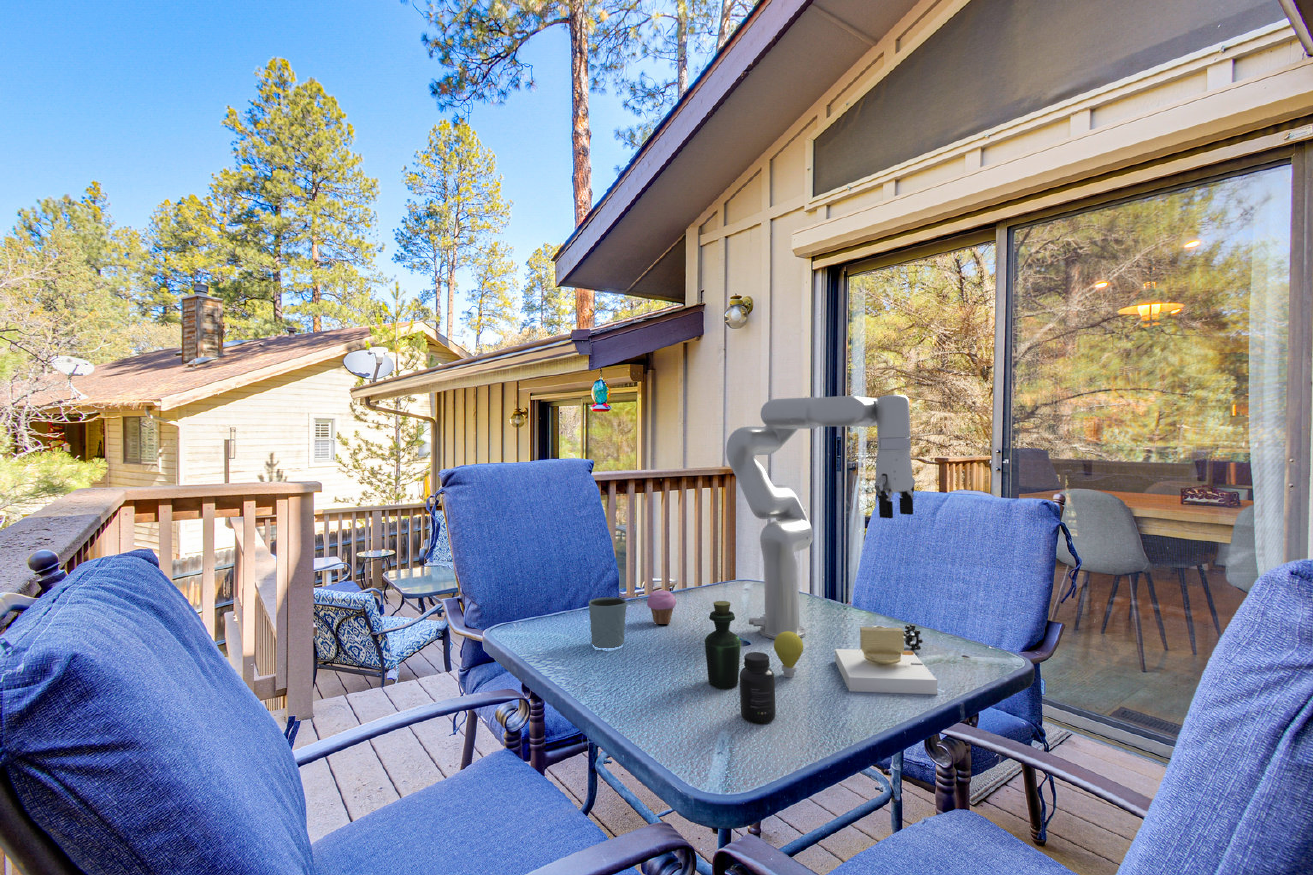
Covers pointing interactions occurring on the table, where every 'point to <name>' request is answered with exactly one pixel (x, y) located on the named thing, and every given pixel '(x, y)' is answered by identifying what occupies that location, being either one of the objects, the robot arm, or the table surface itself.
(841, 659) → the base plate
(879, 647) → the knob
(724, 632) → the potion bottle
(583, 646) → the table surface
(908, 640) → the valve
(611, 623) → the grey cup
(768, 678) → the supplement bottle
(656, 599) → the cupcake
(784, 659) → the light bulb
